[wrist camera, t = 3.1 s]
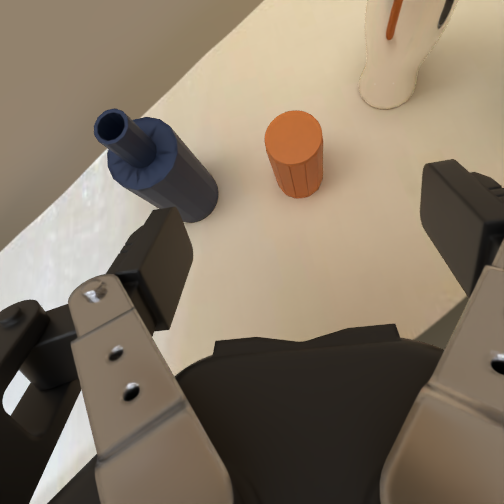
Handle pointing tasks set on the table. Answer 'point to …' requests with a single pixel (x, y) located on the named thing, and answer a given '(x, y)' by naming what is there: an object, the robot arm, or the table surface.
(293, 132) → the grooved orange cylinder
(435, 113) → the table surface
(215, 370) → the robot arm
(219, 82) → the table surface
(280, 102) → the table surface
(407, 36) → the silver metal tumbler
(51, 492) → the table surface
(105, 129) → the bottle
